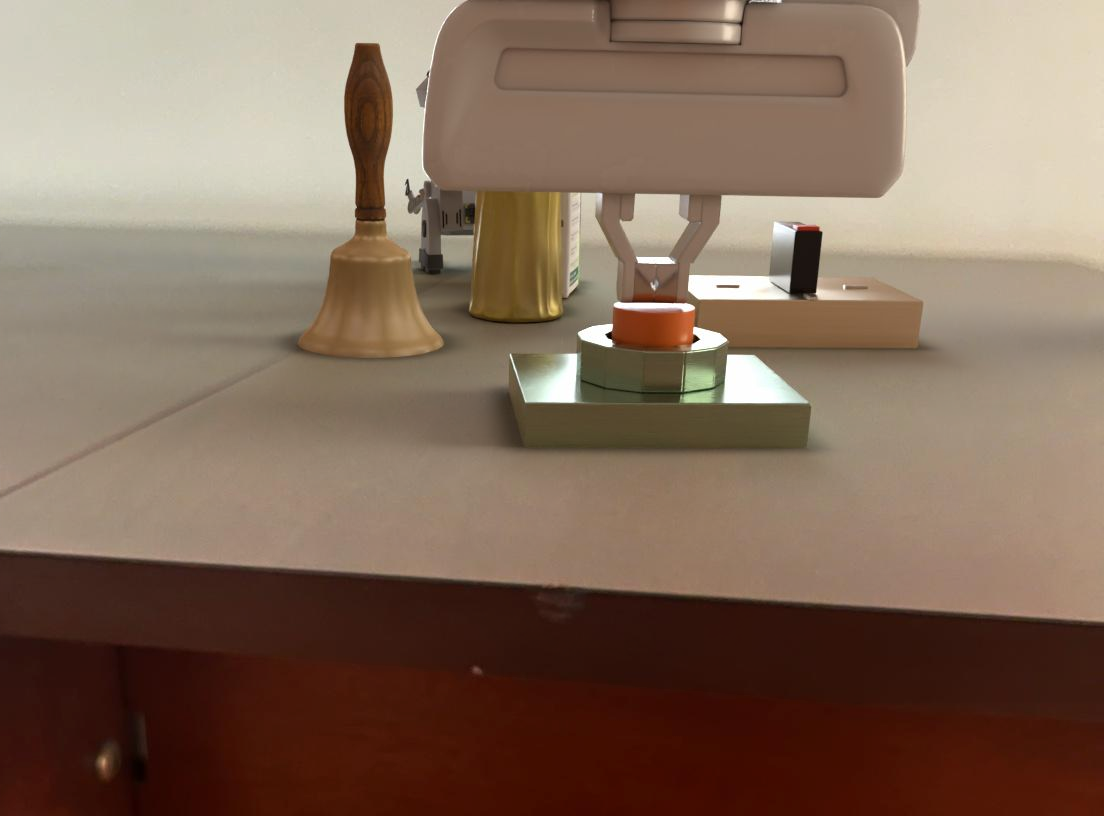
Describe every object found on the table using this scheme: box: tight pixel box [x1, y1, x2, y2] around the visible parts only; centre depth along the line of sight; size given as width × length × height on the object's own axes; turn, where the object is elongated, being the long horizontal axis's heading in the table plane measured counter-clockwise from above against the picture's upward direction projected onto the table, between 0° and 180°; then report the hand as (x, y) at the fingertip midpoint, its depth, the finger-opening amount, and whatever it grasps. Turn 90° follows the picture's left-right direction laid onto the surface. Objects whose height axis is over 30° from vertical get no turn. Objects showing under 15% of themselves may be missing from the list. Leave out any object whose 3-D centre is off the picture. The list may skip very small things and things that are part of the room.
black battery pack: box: [768, 221, 824, 293], centre depth 78 cm, size 5×2×4 cm, turn 3°
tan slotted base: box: [686, 275, 924, 349], centre depth 80 cm, size 13×9×3 cm
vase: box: [468, 191, 564, 323], centre depth 83 cm, size 6×6×14 cm
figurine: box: [404, 69, 476, 274], centre depth 103 cm, size 9×12×15 cm
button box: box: [508, 323, 812, 449], centre depth 59 cm, size 12×10×4 cm
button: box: [611, 301, 695, 346], centre depth 58 cm, size 4×4×2 cm
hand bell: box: [297, 42, 445, 359], centre depth 72 cm, size 8×8×16 cm
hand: (651, 301), depth 58 cm, fingers closed
